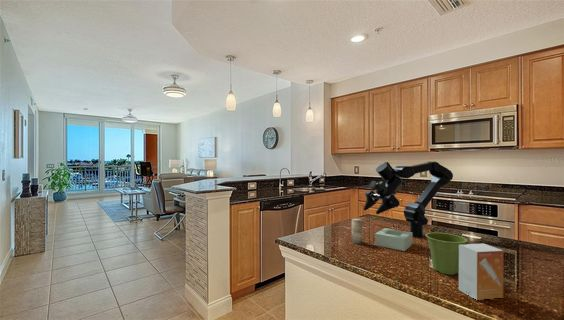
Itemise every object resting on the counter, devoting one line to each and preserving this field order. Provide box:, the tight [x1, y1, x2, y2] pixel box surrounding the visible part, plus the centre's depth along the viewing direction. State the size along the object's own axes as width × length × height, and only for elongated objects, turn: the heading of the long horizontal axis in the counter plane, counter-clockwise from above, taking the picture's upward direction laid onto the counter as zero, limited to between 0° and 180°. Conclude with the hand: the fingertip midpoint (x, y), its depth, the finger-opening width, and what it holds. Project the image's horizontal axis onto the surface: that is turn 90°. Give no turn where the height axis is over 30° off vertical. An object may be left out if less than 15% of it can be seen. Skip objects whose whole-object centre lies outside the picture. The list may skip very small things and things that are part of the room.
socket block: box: [374, 227, 414, 252], centre depth 116 cm, size 12×12×5 cm
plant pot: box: [425, 232, 468, 276], centre depth 88 cm, size 12×12×11 cm
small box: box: [458, 243, 505, 301], centre depth 73 cm, size 8×6×13 cm
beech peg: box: [351, 218, 363, 245], centre depth 119 cm, size 4×4×10 cm
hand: (370, 211), depth 121 cm, fingers open, 9 cm apart
